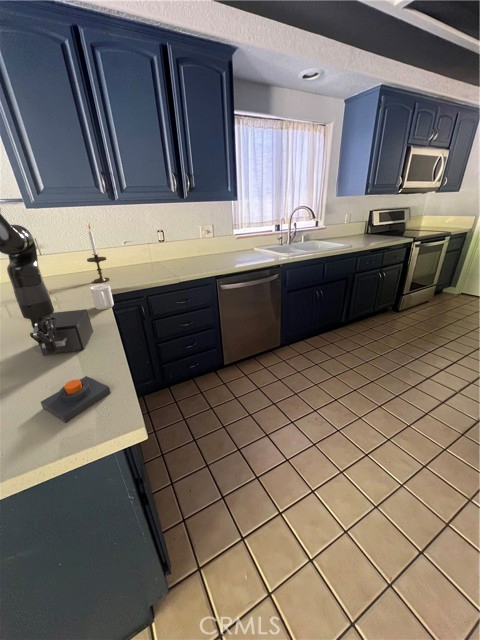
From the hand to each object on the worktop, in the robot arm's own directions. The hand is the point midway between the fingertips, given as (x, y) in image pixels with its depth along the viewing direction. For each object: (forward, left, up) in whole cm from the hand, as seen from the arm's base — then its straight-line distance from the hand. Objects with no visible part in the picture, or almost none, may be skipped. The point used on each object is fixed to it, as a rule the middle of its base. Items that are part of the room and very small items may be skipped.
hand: (52, 351), depth 82 cm
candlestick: (+67, +73, -5) cm, 99 cm away
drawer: (+7, +7, -4) cm, 11 cm away
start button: (-7, -23, -1) cm, 24 cm away
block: (-7, -23, -5) cm, 24 cm away
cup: (+38, +29, -5) cm, 48 cm away
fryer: (+10, +10, -5) cm, 15 cm away
